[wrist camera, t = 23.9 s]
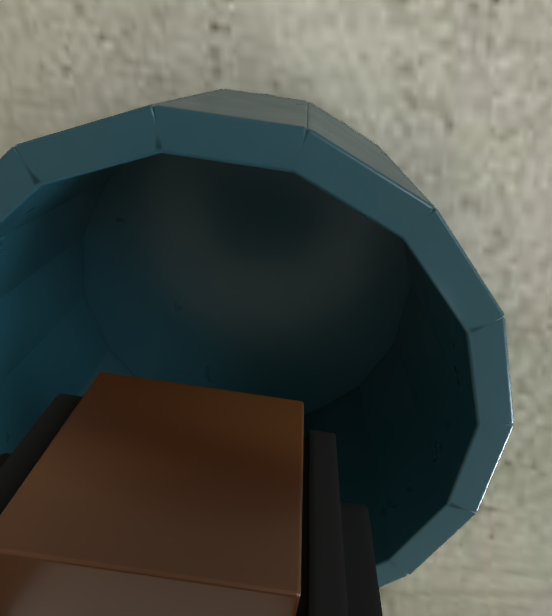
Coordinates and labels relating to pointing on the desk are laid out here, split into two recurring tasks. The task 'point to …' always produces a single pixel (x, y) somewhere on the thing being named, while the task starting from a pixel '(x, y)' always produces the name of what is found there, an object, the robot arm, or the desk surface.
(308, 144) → the tin
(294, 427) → the block
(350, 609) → the robot arm
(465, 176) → the desk surface
